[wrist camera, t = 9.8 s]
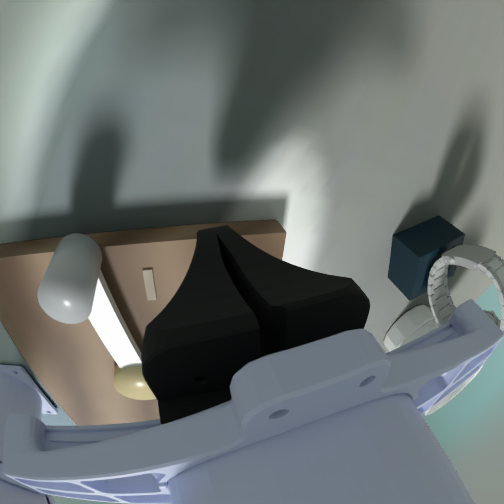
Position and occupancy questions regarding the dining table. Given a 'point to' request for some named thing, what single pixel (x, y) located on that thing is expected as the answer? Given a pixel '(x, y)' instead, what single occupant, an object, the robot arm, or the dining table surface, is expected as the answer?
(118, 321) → the lever
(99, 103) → the dining table surface
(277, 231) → the brown wooden board
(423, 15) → the dining table surface
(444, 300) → the watch
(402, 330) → the white cup
